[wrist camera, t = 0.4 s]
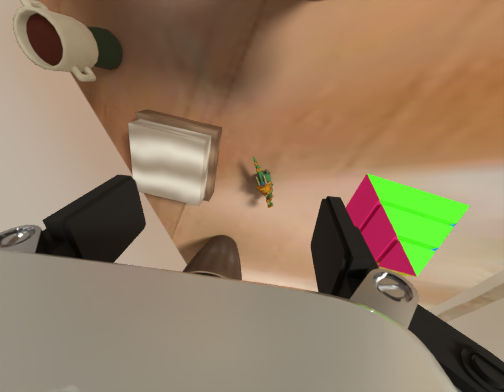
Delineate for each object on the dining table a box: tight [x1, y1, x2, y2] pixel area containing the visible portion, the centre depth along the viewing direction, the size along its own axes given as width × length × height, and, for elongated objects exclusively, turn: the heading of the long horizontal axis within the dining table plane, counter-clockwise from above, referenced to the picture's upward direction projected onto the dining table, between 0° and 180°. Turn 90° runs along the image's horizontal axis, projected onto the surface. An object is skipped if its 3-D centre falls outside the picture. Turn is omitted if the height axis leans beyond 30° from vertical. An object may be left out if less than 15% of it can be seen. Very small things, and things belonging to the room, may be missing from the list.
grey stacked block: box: [128, 110, 222, 206], centre depth 45 cm, size 16×16×8 cm
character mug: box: [13, 0, 122, 82], centre depth 34 cm, size 11×7×13 cm, turn 26°
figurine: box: [253, 157, 274, 208], centre depth 45 cm, size 3×12×8 cm, turn 20°
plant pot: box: [183, 235, 242, 280], centre depth 53 cm, size 15×15×16 cm
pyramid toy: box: [346, 174, 469, 276], centre depth 46 cm, size 25×25×14 cm
